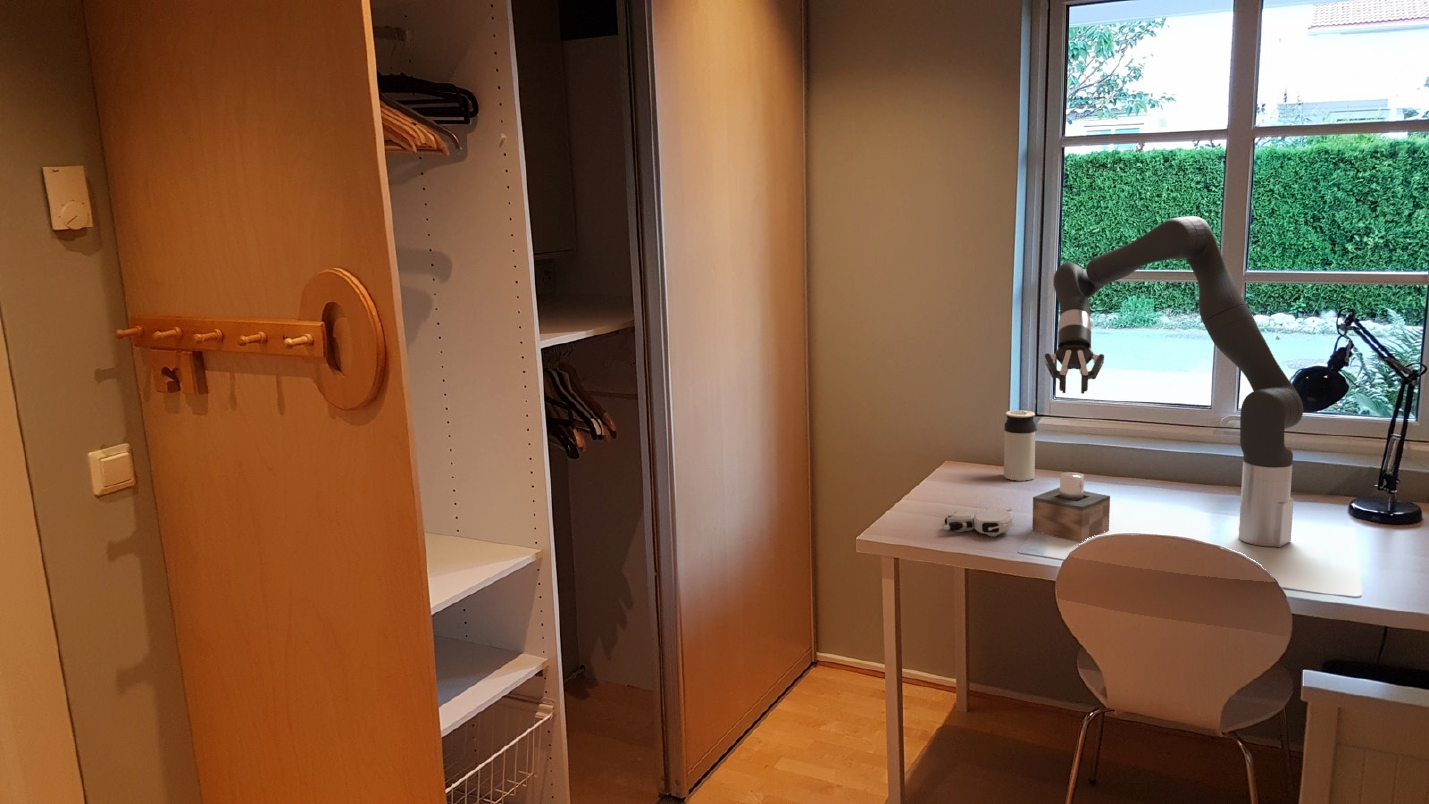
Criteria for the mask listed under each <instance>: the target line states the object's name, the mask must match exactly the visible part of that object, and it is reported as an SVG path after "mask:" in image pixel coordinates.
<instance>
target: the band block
mask: <svg viewBox="0 0 1429 804" xmlns="http://www.w3.org/2000/svg"><path fill="white" fill-rule="evenodd" d="M1110 508H1111V495H1107V494H1101V493H1097V492H1091V491H1086V490H1084V492H1083V499H1082V500H1079V501H1077V502H1076V501H1071V500H1066V499H1061V498H1060V486H1059V487H1057V488H1054V489H1051V490H1048V491H1046V492H1043V493H1040V494H1038V495H1035V496H1033V497H1032V530H1031V531H1032V532H1035V533H1039V534H1043V535H1047V536H1051V537H1056V538H1061V539H1065V540H1069V541H1074V542H1078V543H1081V542H1082V541H1084V540H1085V539H1087V538H1089V537H1092V536H1094V535H1097V536H1099V535H1102V534H1104V533H1105V532H1104V531H1106V532H1109V531H1110V511H1111V509H1110ZM1084 542H1085V541H1084ZM1082 543H1083V542H1082Z"/></svg>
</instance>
